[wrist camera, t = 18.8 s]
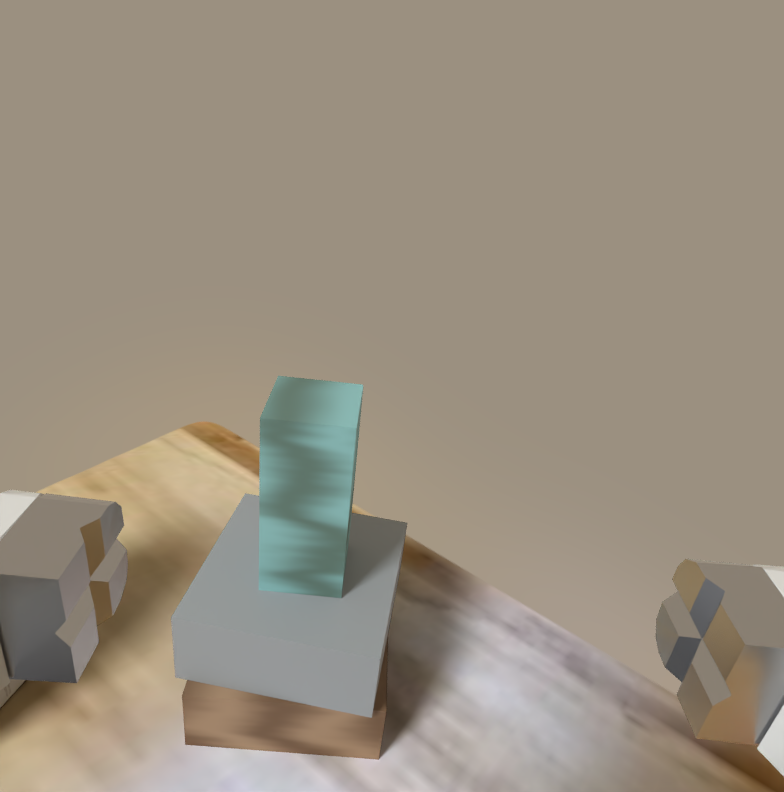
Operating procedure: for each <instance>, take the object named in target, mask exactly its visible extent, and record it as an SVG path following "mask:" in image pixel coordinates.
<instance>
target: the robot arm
mask: <svg viewBox="0 0 784 792" xmlns="http://www.w3.org/2000/svg"><path fill="white" fill-rule="evenodd" d="M123 526H124V522H123V515H122V508H121V506H120V505H118V504H117V503H116V502H111V501H103V500H95V499H87V498H79V497H70V496H62V495H54V494H41V493H33V492H24V491H16V490H9V491H6V492H3V493H0V690H2V689H3V688H4V687H5V686H7V685H8V684H9V683H10V679H16V680H33V681H49V682H66V683H77V682H78V680H79V678H80V676H81V674H82V673H83V671H84V669H85V667H86V665H87V663H88V661H89V660H90V658H91V656H92V654H93V652H94V650H95V648H96V647H97V645H98V643H99V638H98V631H97V626H98V625H100V624H101V623H103V622H104V621H106V620H107V619H109V618H110V617H112V616H113V614H114V612H115V610H116V608H117V606H118V604H119V602H120V600H121V598H122V594H123V591H124V587H125V583H126V580H127V569H128V559H127V550H126V548H125V547H124V546H123V545H122V544H121V543H120V542H119V541H118V540H117V539H116V538H117V536H118V535H119V533H120V531H121V530H122V528H123ZM672 580H673V582H674V584H675V586H676V589H677V592H676V593H675V594H673V595H672V596H670V597H669V598H667V599H666V600H664V601H663V602H662V605H661V608H660V610H659V613H658V616H657V619H656V641H657V646H658V651H659V654H660V656H661V659H662V661H663V664H664V666H665V668H666V669H668V670H669V671H670V672H671V673H672V674H673V675H674V676H675V677H676V678H678V679H679V680H680V681H681V685H680V688H679V690H678V693H677V696H678V699H679V701H680V703H681V705H682V708H683V710H684V712H685V715H686V717H687V719H688V721H689V724H690V726H691V728H692V731H693V733H694V735H695V737H696V738H697V739H705V740H714V741H722V742H731V743H739V744H748V745H756V746H758V748H757V749H758V750H759V751H760V752H761V753H762V754H763V756H764V757H765V758H766V759H767V760H768V761H769V762H770V763H771V764H772V765H773V766H774V767H775V768H776V769H777V770H778V771H779V772H780V773H781V774H782V775H783V776H784V567H780V566H768V565H745V564H734V563H723V562H713V561H702V560H691V559H685V560H684V561H683V562H682V563H681V564H680V565H679V566H678V567H677V570H676V572H675V574H674V576H673V579H672Z"/></svg>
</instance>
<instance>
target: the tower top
mask: <svg viewBox="0 0 784 792" xmlns="http://www.w3.org/2000/svg"><path fill="white" fill-rule="evenodd" d="M406 528H407V523H405V522H399V521H394V520H389V519H383V518H378V517H372V516H367V515H361V514H356V513H351V524H350V535H349V545H348V552H347V560H346V567H345V575H344V582H343V589H342V597H341V598H335V597H325V596H314V595H304V594H294V593H284V592H274V591H263V590H259V496H257V495H251V494H246V493H245V495H244V497H243V498H242V500H241V502H240V503H239V505H238V507H237V508H236V510H235V512H234V513H233V515H232V517H231V518H230V520H229V522H228V523H227V525H226V527H225V528H224V530H223V532H222V533H221V535H220V537H219V538H218V540H217V542H216V543H215V545H214V547H213V548H212V550H211V552H210V553H209V555H208V557H207V558H206V560H205V562H204V563H203V565H202V567H201V568H200V570H199V572H198V573H197V575H196V577H195V578H194V580H193V582H192V583H191V585H190V587H189V588H188V590H187V592H186V593H185V595H184V597H183V598H182V600H181V602H180V603H179V605H178V607H177V608H176V610H175V612H174V614H173V615H172V617H171V622H172V636H173V650H174V664H175V677H176V678H181V679H186V680H191V681H196V682H200V683H205V684H210V685H215V686H220V687H225V688H229V689H234V690H239V691H244V692H249V693H254V694H258V695H263V696H268V697H273V698H278V699H283V700H288V701H292V702H297V703H302V704H307V705H312V706H317V707H321V708H326V709H331V710H336V711H341V712H346V713H350V714H355V715H360V716H365V717H370V718H372V714H373V709H374V704H375V699H376V693H377V688H378V683H379V678H380V673H381V667H382V662H383V657H384V652H385V647H386V641H387V636H388V631H389V626H390V621H391V615H392V610H393V605H394V600H395V595H396V589H397V584H398V579H399V573H400V567H401V560H402V554H403V547H404V541H405V534H406Z"/></svg>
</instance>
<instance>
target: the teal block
mask: <svg viewBox="0 0 784 792" xmlns="http://www.w3.org/2000/svg"><path fill="white" fill-rule="evenodd" d="M362 394H363V385H361V384H351V383H341V382H332V381H323V380H313V379H304V378H294V377H284V376H278V378H277V380H276V382H275V385H274V387H273V389H272V392H271V394H270V396H269V399H268V401H267V403H266V406H265V408H264V410H263V412H262V415H261V417H260V494H259V590H263V591H274V592H284V593H294V594H304V595H314V596H325V597H335V598H341V597H342V589H343V582H344V575H345V567H346V560H347V552H348V545H349V535H350V524H351V513H352V502H353V491H354V480H355V469H356V457H357V448H358V437H359V426H360V416H361V415H360V414H361V405H362Z"/></svg>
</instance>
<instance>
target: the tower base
mask: <svg viewBox="0 0 784 792" xmlns="http://www.w3.org/2000/svg"><path fill="white" fill-rule="evenodd" d="M387 652H388V636H387V641H386V647H385V652H384V657H383V662H382V667H381V673H380V678H379V683H378V688H377V693H376V699H375V704H374V709H373V714H372V718H370V717H365V716H360V715H355V714H350V713H346V712H341V711H336V710H331V709H326V708H321V707H317V706H312V705H307V704H302V703H297V702H292V701H288V700H283V699H278V698H273V697H268V696H263V695H258V694H254V693H249V692H244V691H239V690H234V689H229V688H225V687H220V686H215V685H210V684H205V683H200V682H196V681H191V680H187V683H186V686H185V689H184V691H183V694H182V700H183V715H184V730H185V745H198V746H211V747H224V748H237V749H250V750H263V751H276V752H289V753H302V754H315V755H328V756H341V757H354V758H367V759H379V754H380V748H381V742H382V736H383V729H384V723H385V717H386V705H387Z"/></svg>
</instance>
